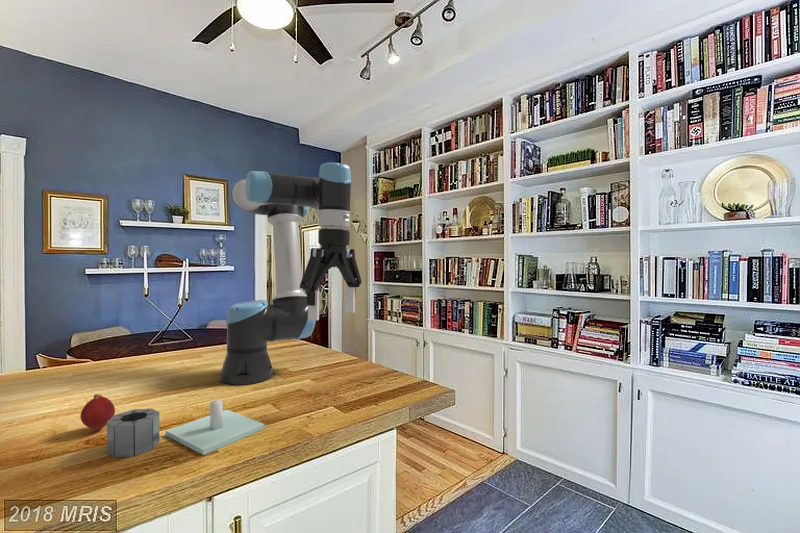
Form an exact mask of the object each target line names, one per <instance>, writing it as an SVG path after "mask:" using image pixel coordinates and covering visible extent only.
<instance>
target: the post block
mask: <svg viewBox="0 0 800 533" xmlns="http://www.w3.org/2000/svg"><path fill="white" fill-rule="evenodd" d="M209 405H210V406H209V407H210V408H209V409H210V411H209V415H207V416H205V417H204V416H203V417H201V418H198V419H196V420H193V421H190V422H186V423H183V424H182V425H179V426H175V427H172V428H169V429H166V430H165V436H166V437H169V438H170V439H171V440H174V441H175V442H178V443H180V444H181V445H184V446H185V447H187V448H189V449H191V450H193V451H195V452H196V453H199V454H200V455H203V456H206V455H207V454H209V453H211V452H214V451H216V450H219V449H220V448H223V447H225V446H228V445H230V444H232V443H235V442H236V441H239V440H242V439H244V438H246V437H248V436H250V435H253V434H255V433H258V432H260V431H262V430H264V429H265V425H266V424H265V423H262V422H260V421H257V420H255V419H253V418H249V417H247V416H244V415H242V414H240V413H237V412H234V411H232V410H229V409H224V410H223V400H221V399H215V400H212V401H210V403H209Z"/></svg>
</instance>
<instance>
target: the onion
mask: <svg viewBox="0 0 800 533" xmlns="http://www.w3.org/2000/svg"><path fill="white" fill-rule="evenodd" d="M115 413H116V408H115V405H114V403H113V402H112V401H111V400H110V399H109V398H108V397H105V396H102V394H100V393H95V394H94V395H93V398H92V399H90V400H89V401H88V402H86V403H85V405H84V406H83V408H82V410H81V412H80V416H79V418H80V420H81V422H82V424H83V425H84V426H86V427H87V428H89V429H92V430H94V431H95V432H98V431H99V432H100V431H101V430H102V429H103V428H105V427H107V421H108V420H109V419H111V418H112V417H113V416H114V415H116V414H115Z"/></svg>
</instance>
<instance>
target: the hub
mask: <svg viewBox="0 0 800 533" xmlns="http://www.w3.org/2000/svg"><path fill="white" fill-rule="evenodd" d="M159 443H160V411H158V410H156V409H154V408H139V409H138V408H136V409H135V408H134V409H131V410H127V411H123V412H120V413H117V414H114V416H113V417H112V418H111V419H109V420H108V421H107V425H106V454H108V455H110V456H111V457H112V458H115V459H118V458H129V457H132V458H133V457H136V456H140V455H141V454H144V453H147V452H149V451H152V450H154V449H155V447H156V446H157V445H158V444H159Z"/></svg>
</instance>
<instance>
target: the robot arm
mask: <svg viewBox="0 0 800 533" xmlns="http://www.w3.org/2000/svg"><path fill="white" fill-rule="evenodd" d="M351 179H352V176H351V168H350V166H349V165H348V164H344V163H341V162H340V163H339V162H325V163H321V165H320V166H319V172H318V177H309V176H303V175H302V176H301V175H292V174H283V173H275V172H267V171H265V170H259V171H258V170H257V171H256V170H250V171H248V173H247V174H246V178H244V179H241V180H238V181H237V182H235V183H234V185H232V187H231V191H230V196H231V197H230V198H231V200H232V202H233V204H234V205H235V207H237V208H238V209H240V210H241V211H243V212H245V213H246V212H247V213H249V214H253V215H260V216H267V222H268V223H269V224H270V225H271V226H272V234H273V251H274V252H273V253H274V256H273V257H274V268H275V269H274V270H275V271H274V273H275V286H276V290H275V291H276V295H274V297H272V299H271V304H269V303H268V301H267V300H265V299H264V300H263V299H258V300H257V299H256V300H248V301H243V302H238V303H235V304H233V305H231V306H229V308H228V309H227V314H226V315H227V316H226V356H225V359H224V361H223V364H222V367H221V370H220V373H219V376H220V378H219V380H220V382H222V383H225V384H228V385H251V384H257V383H261V382H264V381H266V380H269V379H271V378H272V377H273V374H274V373H273V372H274V369H273V365H272V362H271V359H270V356H269V352H268V343H269V342H279V341H287V340H289V341H290V340H299V339H306V338H308V337H310V336H311V335H312V334H313V332H314V330H315V325H316V322H317V321H319V320H320V291H317V290H318V288H319V287H320V285H321V284H322V282H323V280H324V278H325V276H326V274H327V273H328V271H329V270H330V269H331V268H337V269H338V271H339V272H340V274H341V276H342V278H343V280H344V282H345V284H346V285H347V286H345V288H344V289H345V290H344V312H345V313H349V314H350V313H351V314H355V312H356V309H355V308H356V297H357V295H356V294H357V288H359V287H360V285H361V284H362V282H363V281H362V277H361V274H360V271H359V268H358V264H357V259H356V252H355V248H354V249H353V248H347V246H349V245H350V242H351V241H350V240H351V239H350V238H351V237H350V236H351V235H350V234H351V232H350V230H349V228H350V226H351V219H350V218H351V194H352V193H351V191H352V189H351V188H352V186H351V185H352V180H351ZM308 207H309V208H310V209H314V210H315V209H317V210H318V220H317V221H318V223H317V225H318V227H319V228H320V229H318V235H317V236H318V237H317V238H318V241H317V243H318V244H319V245H320V248H319V247H311V248H310V252H309V253H310V254H309V255H310V256H309V259H308V261H307V265H306V268H305V270H304V273H303V269H302V254H301V244H300V243H301V241H300V230H299V228H300V227H299V225H300V224H301V223H302V222H303V218H305V216H307V213H308ZM305 292H306V293H305Z"/></svg>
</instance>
